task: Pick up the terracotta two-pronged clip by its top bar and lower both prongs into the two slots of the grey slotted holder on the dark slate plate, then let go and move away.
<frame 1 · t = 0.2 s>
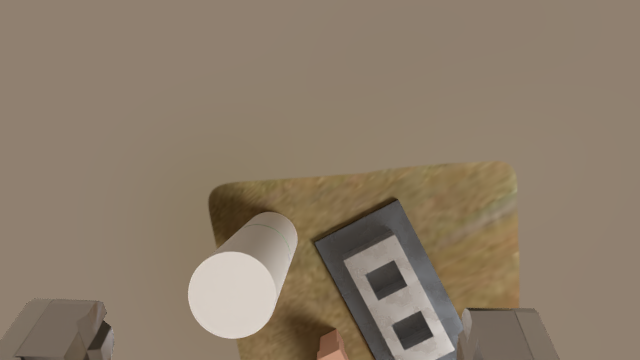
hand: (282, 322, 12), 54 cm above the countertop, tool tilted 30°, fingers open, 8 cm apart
cylindrical container: (270, 238, 66), on the countertop
grey slotted holder: (394, 295, 66), on the countertop
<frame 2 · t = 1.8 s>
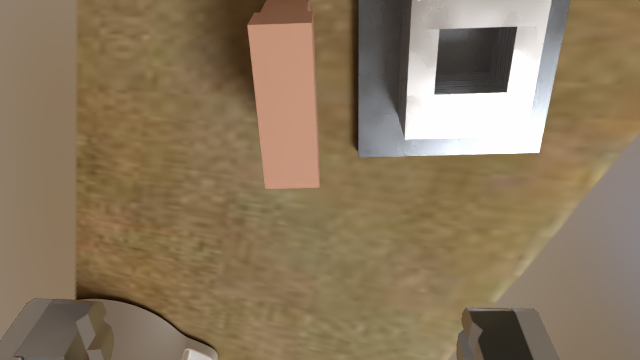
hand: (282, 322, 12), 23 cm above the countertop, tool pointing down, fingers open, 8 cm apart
clip: (294, 68, 32), on the countertop
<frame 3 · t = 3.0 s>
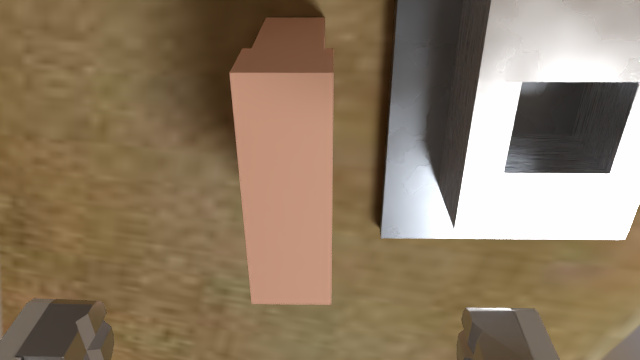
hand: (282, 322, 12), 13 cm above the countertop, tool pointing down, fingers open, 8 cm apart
grey slotted holder: (545, 4, 20), on the countertop
clip: (298, 119, 23), on the countertop
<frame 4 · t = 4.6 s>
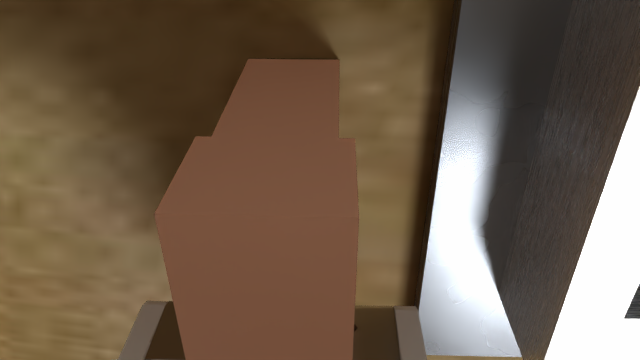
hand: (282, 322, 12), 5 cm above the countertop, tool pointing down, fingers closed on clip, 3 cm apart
clip: (298, 200, 16), on the countertop, touching gripper
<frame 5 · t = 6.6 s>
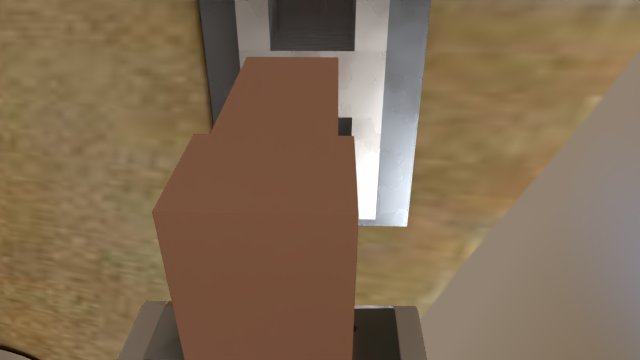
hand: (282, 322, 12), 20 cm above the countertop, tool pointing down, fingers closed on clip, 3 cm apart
grey slotted holder: (315, 58, 29), on the countertop
clip: (297, 199, 16), point 15 cm above the countertop, touching gripper
when the fingers open (6 cm above the countertop, at t = 9.0 s): clip stays where it is, resting on grey slotted holder.
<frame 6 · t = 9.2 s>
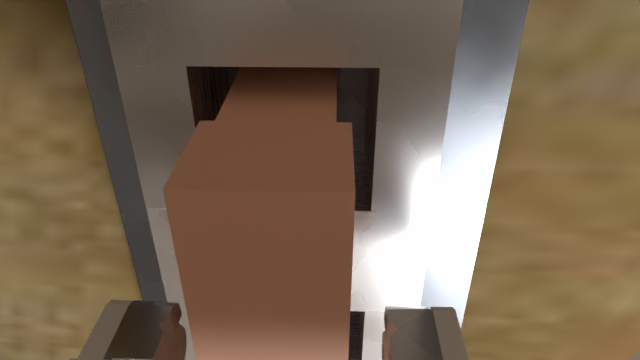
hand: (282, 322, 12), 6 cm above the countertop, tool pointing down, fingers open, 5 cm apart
grey slotted holder: (301, 177, 17), on the countertop
clip: (296, 189, 16), point 1 cm above the countertop, touching grey slotted holder
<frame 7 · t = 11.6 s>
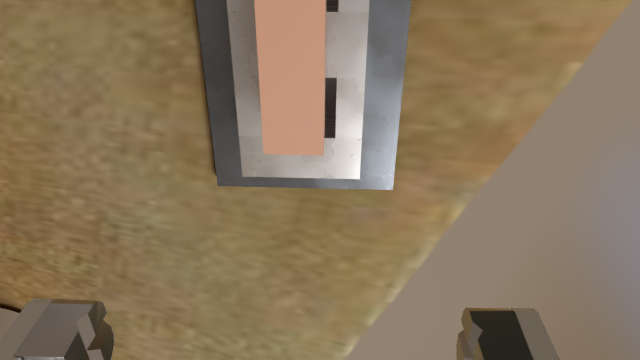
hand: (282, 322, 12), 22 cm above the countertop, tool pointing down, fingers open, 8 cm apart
grey slotted holder: (303, 22, 30), on the countertop
clip: (301, 25, 29), point 1 cm above the countertop, touching grey slotted holder
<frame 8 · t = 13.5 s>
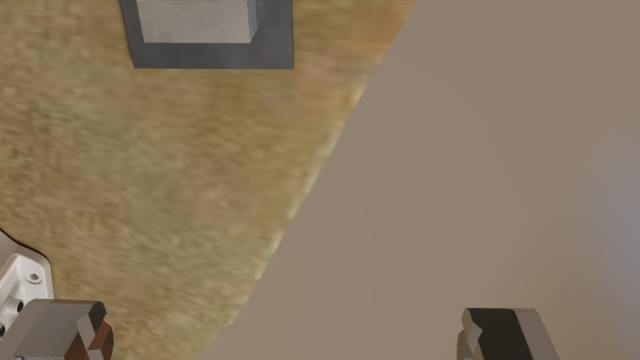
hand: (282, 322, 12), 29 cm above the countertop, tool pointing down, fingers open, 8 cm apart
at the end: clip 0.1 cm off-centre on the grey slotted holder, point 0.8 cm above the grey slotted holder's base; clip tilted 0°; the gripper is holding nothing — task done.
